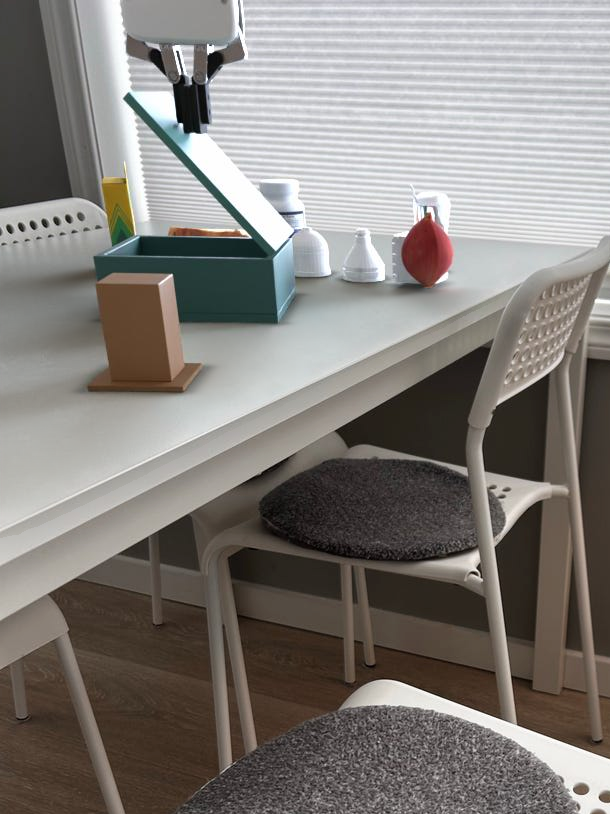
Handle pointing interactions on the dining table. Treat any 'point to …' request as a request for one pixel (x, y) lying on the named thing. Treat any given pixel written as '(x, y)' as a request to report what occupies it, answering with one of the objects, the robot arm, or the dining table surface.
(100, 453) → the dining table surface
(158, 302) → the carton
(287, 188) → the pill bottle
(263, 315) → the box
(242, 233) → the bread slice
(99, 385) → the mat
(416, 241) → the onion
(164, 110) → the lunchbox lid
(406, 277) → the container set
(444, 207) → the milkshake
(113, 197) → the crayon box
